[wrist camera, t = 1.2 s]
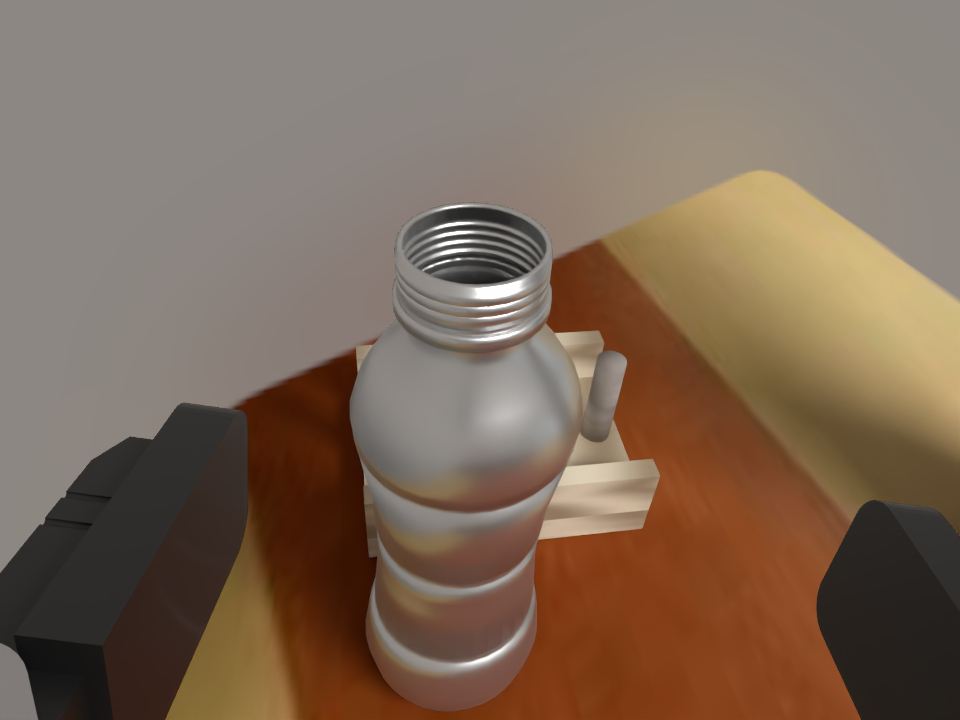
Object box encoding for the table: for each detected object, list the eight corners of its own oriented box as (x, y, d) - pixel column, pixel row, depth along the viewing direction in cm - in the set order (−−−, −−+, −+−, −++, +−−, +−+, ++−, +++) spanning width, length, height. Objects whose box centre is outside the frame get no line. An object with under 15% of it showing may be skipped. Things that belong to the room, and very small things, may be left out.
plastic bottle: (347, 612, 32) (292, 200, 18) (490, 558, 34) (535, 156, 20) (402, 761, 27) (381, 368, 14) (560, 686, 30) (675, 288, 16)
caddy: (587, 383, 43) (606, 293, 38) (642, 528, 36) (673, 438, 31) (360, 400, 41) (352, 308, 36) (369, 557, 34) (361, 466, 29)
